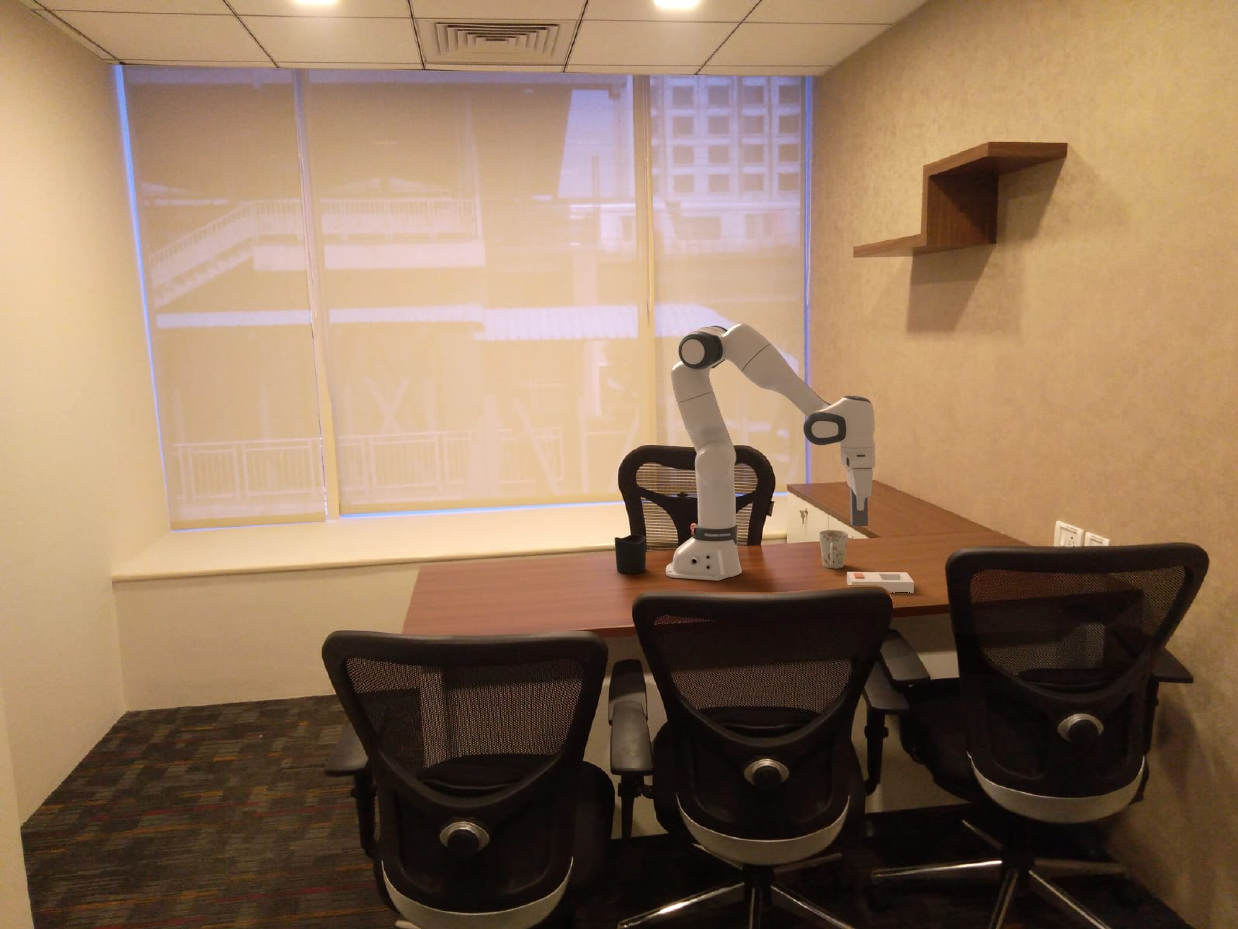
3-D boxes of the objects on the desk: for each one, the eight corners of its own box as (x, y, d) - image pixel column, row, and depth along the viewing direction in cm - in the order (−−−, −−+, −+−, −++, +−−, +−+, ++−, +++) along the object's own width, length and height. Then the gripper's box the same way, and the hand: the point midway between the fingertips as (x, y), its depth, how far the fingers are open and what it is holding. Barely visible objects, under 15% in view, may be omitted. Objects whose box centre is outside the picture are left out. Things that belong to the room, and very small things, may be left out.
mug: (847, 562, 244) (848, 530, 242) (847, 574, 232) (848, 540, 230) (819, 561, 246) (819, 529, 244) (818, 573, 234) (818, 539, 232)
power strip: (851, 592, 216) (851, 579, 215) (846, 582, 224) (847, 570, 224) (913, 593, 213) (914, 580, 213) (906, 582, 222) (906, 570, 222)
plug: (852, 526, 215) (851, 489, 213) (850, 523, 219) (849, 486, 217) (867, 526, 214) (867, 489, 213) (865, 522, 218) (865, 486, 217)
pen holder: (643, 575, 238) (642, 542, 236) (612, 574, 240) (611, 541, 238) (649, 566, 247) (648, 534, 245) (619, 565, 249) (618, 534, 247)
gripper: (840, 451, 224) (841, 500, 226) (850, 463, 204) (851, 516, 206) (864, 450, 223) (865, 499, 225) (876, 462, 203) (877, 515, 205)
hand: (858, 507), depth 216 cm, fingers closed on plug, 4 cm apart
